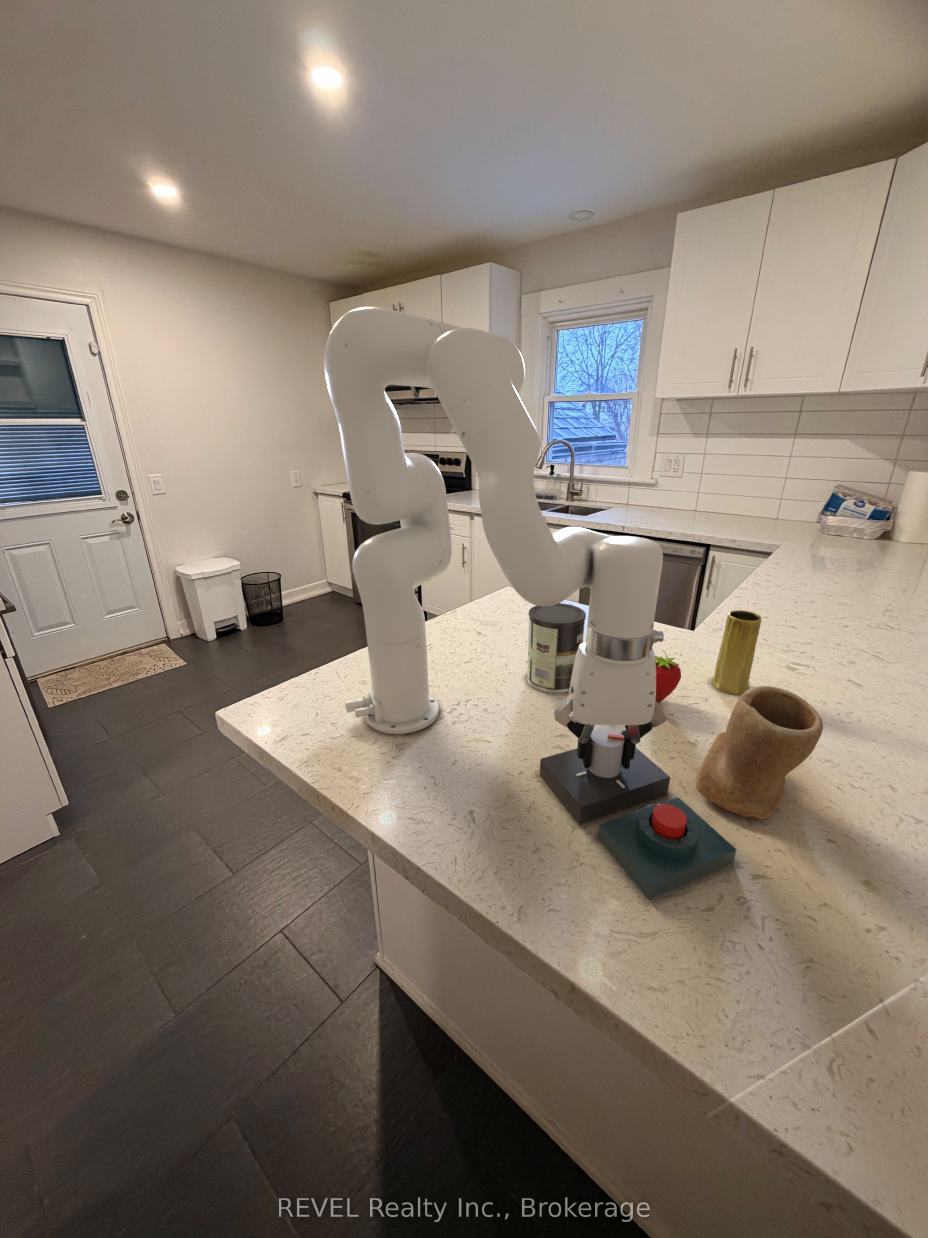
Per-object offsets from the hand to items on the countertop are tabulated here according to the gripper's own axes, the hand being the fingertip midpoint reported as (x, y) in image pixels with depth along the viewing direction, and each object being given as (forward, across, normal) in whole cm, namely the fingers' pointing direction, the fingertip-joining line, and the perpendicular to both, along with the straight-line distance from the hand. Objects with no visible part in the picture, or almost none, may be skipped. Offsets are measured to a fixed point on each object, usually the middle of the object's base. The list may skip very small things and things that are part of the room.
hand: (604, 760), depth 67 cm
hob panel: (+4, 0, 0) cm, 4 cm away
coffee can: (+4, +3, -29) cm, 30 cm away
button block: (+4, -5, +11) cm, 13 cm away
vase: (+4, -30, -27) cm, 40 cm away
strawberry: (+4, -14, -22) cm, 26 cm away
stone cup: (+4, -20, 0) cm, 20 cm away
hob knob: (+1, 0, 0) cm, 1 cm away
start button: (+1, -5, +11) cm, 12 cm away
